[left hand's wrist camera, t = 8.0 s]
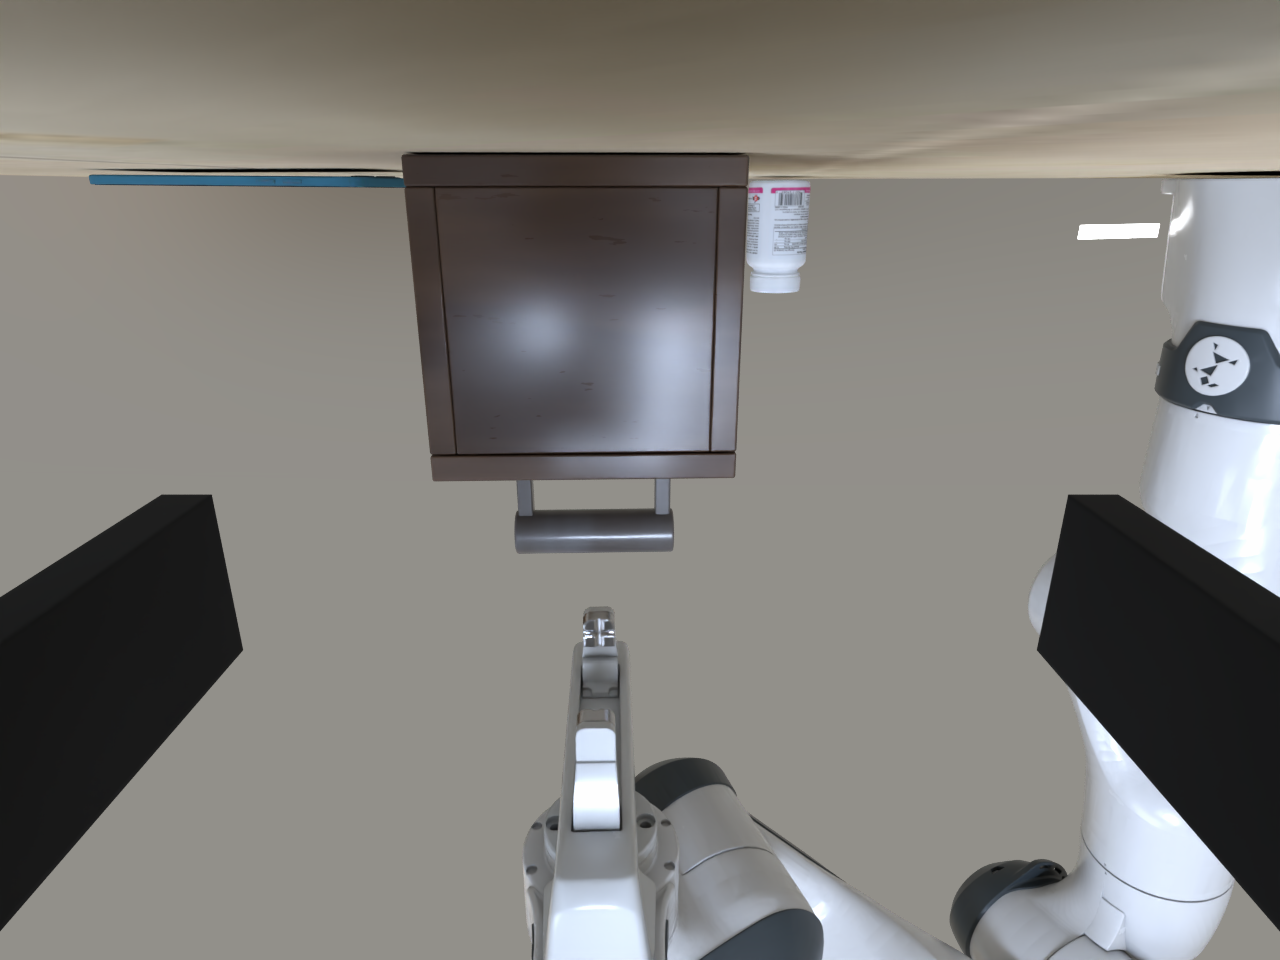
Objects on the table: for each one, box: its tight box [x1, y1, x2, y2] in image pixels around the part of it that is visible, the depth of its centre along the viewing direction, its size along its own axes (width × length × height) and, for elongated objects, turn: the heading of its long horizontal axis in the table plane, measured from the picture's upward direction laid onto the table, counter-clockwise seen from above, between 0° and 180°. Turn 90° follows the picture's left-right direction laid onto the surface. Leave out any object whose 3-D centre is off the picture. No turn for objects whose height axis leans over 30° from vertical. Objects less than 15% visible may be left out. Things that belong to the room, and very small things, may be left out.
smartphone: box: [89, 175, 406, 188], centre depth 43 cm, size 8×1×15 cm
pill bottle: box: [746, 180, 810, 293], centre depth 63 cm, size 5×5×8 cm
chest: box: [401, 154, 749, 454], centre depth 30 cm, size 13×10×9 cm
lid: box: [431, 451, 736, 554], centre depth 33 cm, size 14×10×8 cm
